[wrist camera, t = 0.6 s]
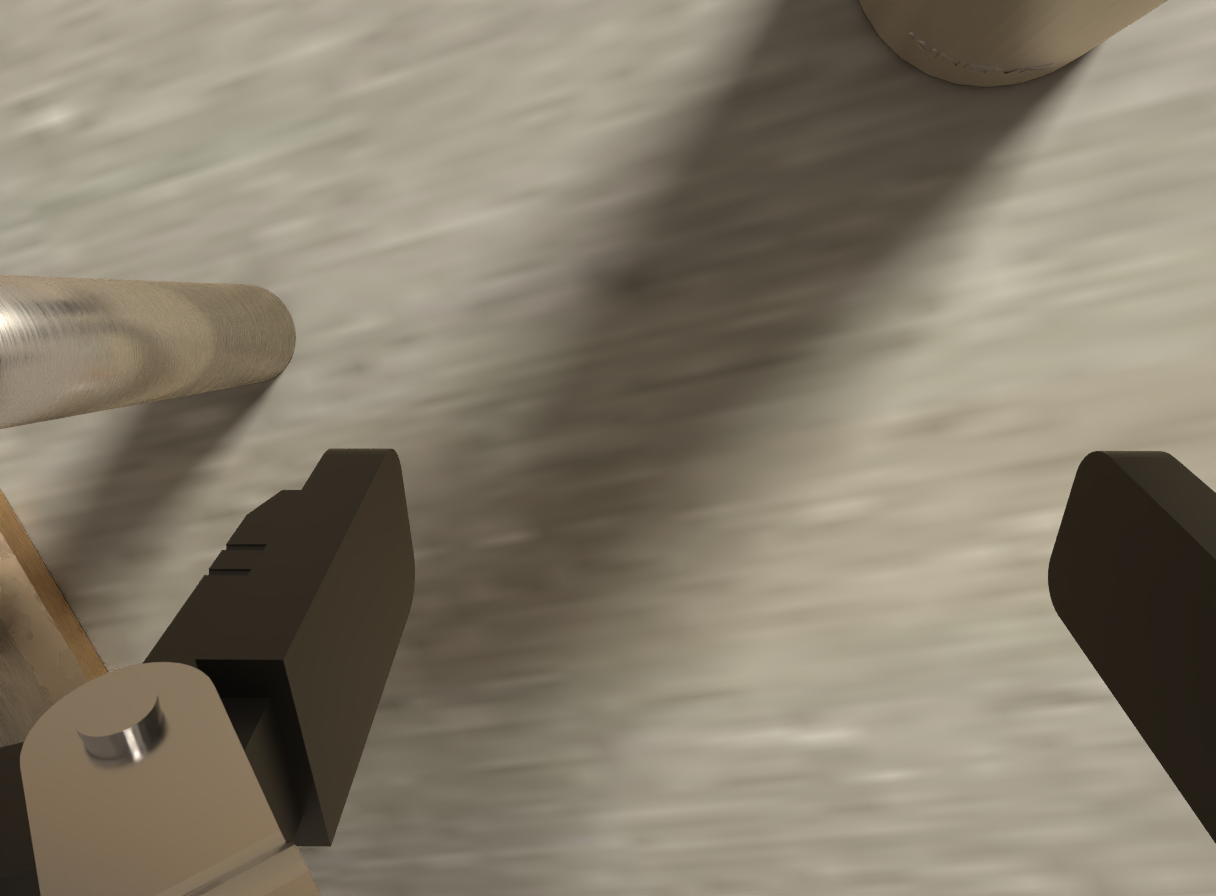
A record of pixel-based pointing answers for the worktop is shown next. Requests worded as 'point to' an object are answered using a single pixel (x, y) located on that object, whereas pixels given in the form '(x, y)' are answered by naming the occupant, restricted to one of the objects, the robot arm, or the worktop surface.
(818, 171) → the worktop surface
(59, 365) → the steel pin
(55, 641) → the pin socket base plate
